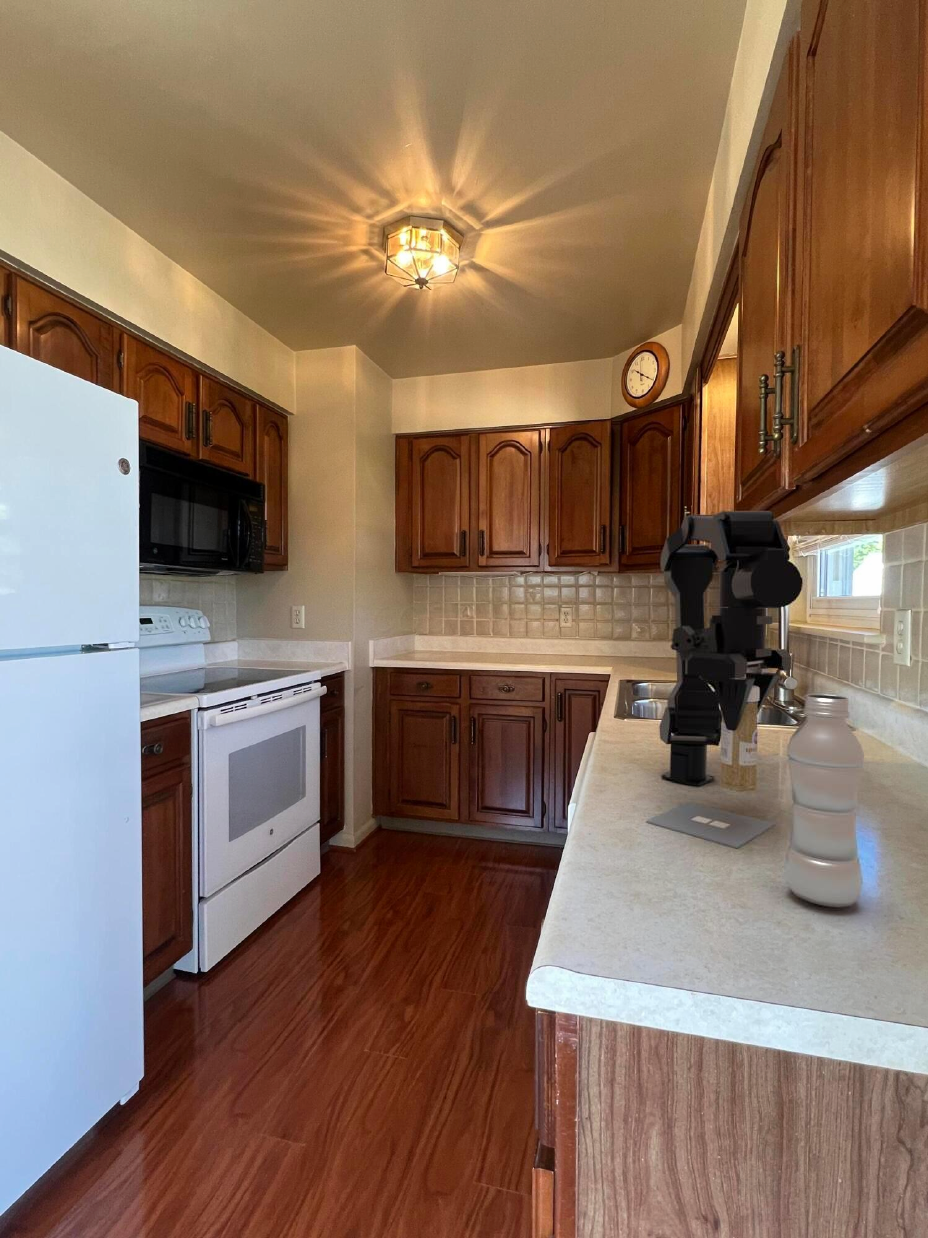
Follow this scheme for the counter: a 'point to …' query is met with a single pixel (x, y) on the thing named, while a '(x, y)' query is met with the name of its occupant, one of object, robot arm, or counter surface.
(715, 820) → the mat
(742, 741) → the sprinkles bottle
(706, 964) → the counter surface
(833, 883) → the plastic bottle
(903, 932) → the counter surface
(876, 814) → the counter surface
